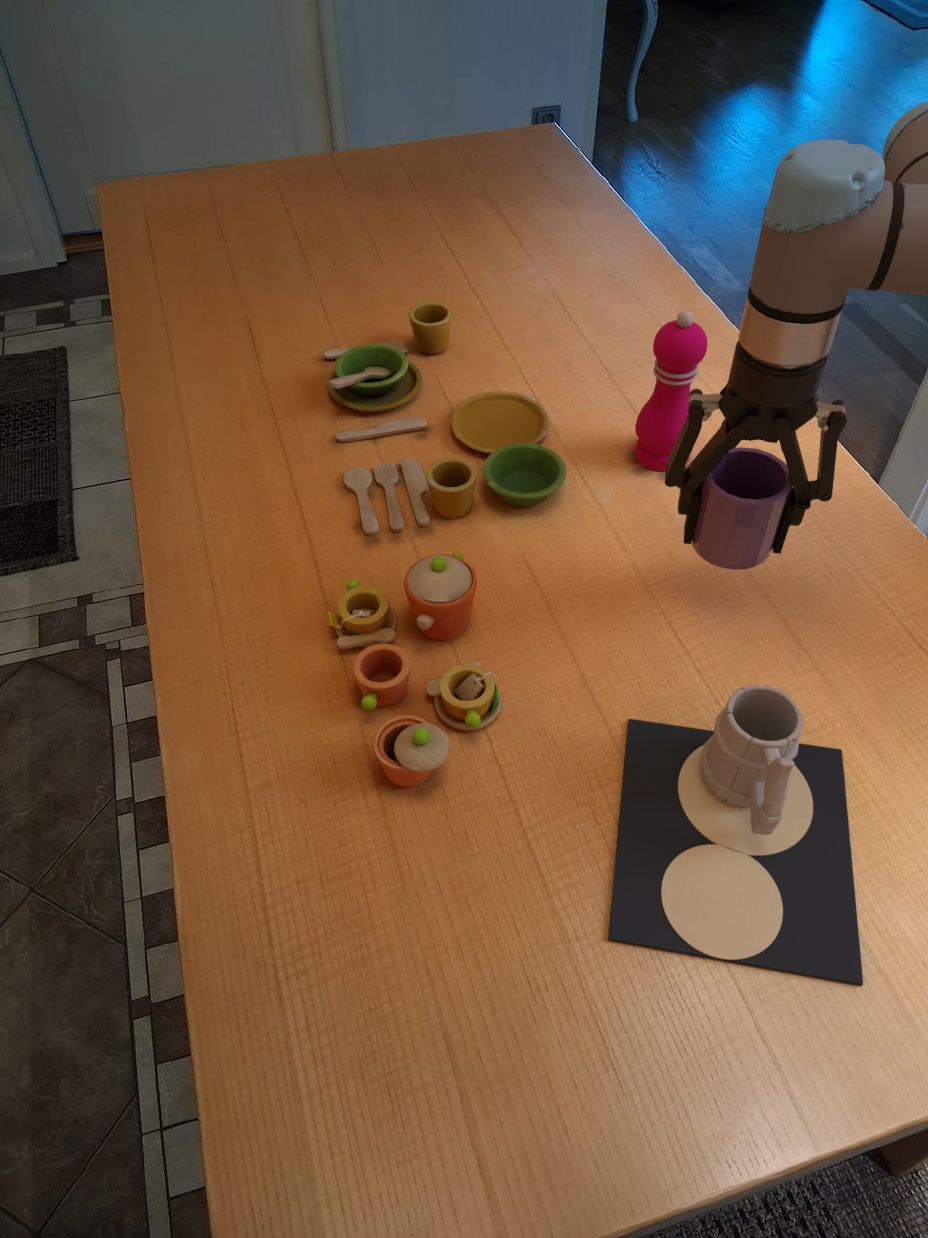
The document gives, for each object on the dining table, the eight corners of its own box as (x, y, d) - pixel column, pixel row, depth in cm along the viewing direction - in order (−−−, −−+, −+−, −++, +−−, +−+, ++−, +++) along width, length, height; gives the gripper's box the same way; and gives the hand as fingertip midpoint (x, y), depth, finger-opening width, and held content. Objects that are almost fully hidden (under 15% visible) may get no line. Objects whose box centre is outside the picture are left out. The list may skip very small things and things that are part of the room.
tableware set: (319, 351, 130) (312, 312, 125) (504, 326, 134) (505, 286, 129) (355, 547, 104) (349, 506, 99) (585, 509, 107) (590, 468, 102)
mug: (772, 738, 85) (806, 661, 76) (802, 854, 78) (843, 784, 68) (692, 738, 85) (716, 662, 76) (713, 854, 78) (743, 784, 69)
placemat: (840, 751, 85) (842, 748, 84) (861, 986, 71) (863, 984, 70) (628, 720, 88) (628, 717, 87) (608, 940, 74) (608, 938, 73)
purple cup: (770, 518, 95) (791, 451, 88) (773, 574, 90) (794, 507, 83) (691, 510, 96) (705, 443, 89) (689, 565, 91) (704, 498, 84)
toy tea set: (325, 605, 98) (311, 543, 91) (461, 576, 101) (459, 512, 93) (373, 812, 82) (362, 755, 74) (535, 770, 84) (539, 712, 77)
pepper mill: (648, 430, 117) (671, 288, 101) (698, 450, 114) (731, 307, 99) (620, 460, 113) (641, 316, 98) (672, 481, 110) (701, 337, 95)
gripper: (909, 330, 76) (835, 525, 93) (658, 313, 79) (631, 504, 97) (920, 381, 71) (840, 577, 89) (653, 361, 75) (626, 553, 92)
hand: (731, 539), depth 93 cm, fingers closed on purple cup, 8 cm apart
